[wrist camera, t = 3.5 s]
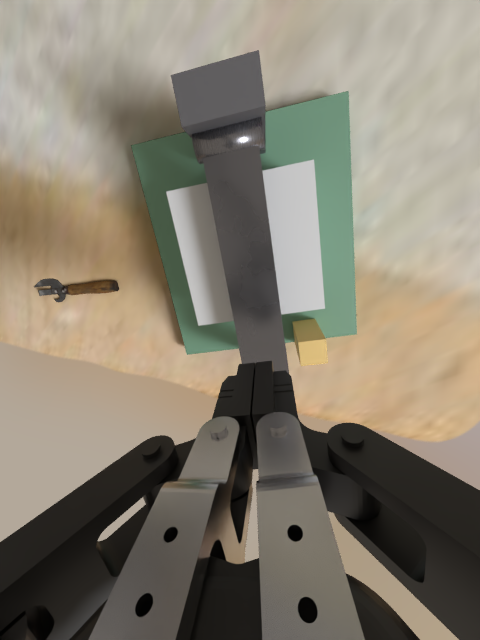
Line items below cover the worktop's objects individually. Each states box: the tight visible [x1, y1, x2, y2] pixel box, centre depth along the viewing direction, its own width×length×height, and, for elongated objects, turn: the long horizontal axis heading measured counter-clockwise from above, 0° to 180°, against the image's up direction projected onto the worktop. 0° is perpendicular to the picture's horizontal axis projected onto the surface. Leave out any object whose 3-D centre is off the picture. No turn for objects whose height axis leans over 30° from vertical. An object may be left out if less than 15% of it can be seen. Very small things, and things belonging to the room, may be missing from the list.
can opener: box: [34, 279, 119, 302], centre depth 26 cm, size 9×2×1 cm, turn 90°
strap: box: [192, 117, 289, 374], centre depth 18 cm, size 16×4×6 cm, turn 10°
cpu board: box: [131, 50, 357, 366], centre depth 19 cm, size 18×16×10 cm
